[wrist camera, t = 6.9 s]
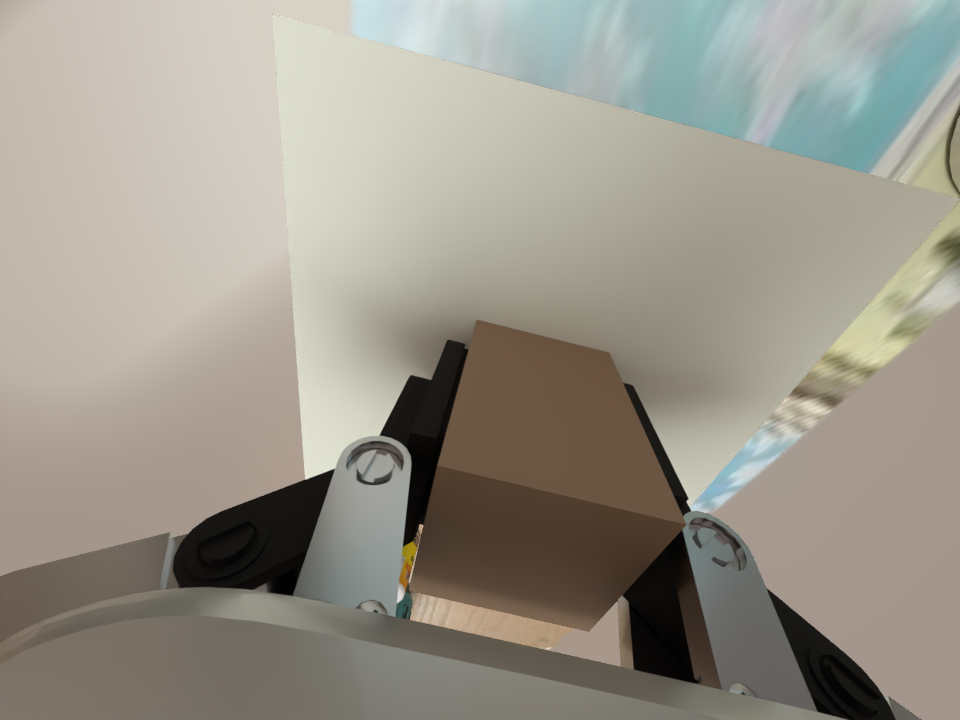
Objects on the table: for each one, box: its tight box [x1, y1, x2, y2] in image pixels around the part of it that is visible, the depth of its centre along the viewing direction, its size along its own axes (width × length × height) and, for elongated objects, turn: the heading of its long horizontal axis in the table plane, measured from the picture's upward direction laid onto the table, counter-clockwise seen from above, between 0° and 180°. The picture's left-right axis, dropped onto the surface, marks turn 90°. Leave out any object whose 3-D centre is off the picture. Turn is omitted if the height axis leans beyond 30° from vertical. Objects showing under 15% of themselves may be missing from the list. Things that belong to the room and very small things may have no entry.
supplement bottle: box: [397, 532, 419, 603], centre depth 45 cm, size 6×6×10 cm
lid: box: [272, 14, 960, 631], centre depth 9 cm, size 15×15×6 cm
